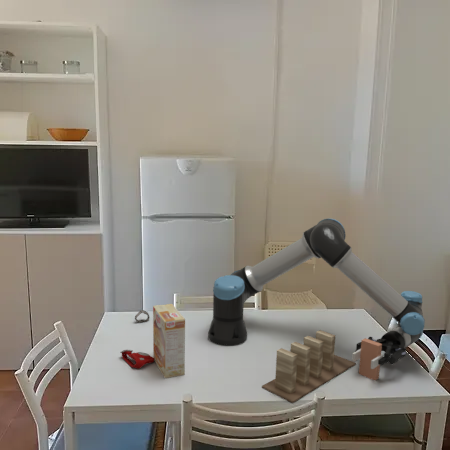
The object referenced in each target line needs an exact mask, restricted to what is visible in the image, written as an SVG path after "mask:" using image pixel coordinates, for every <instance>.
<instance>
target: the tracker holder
mask: <svg viewBox="0 0 450 450" xmlns="http://www.w3.org/2000/svg"><path fill="white" fill-rule="evenodd" d="M120 354H121V358H122V359H123V360H124V361H125V363H126V364H128V365H129V367H131V368H133V369H138V370H139V369H141V368H142V367H144V366H145V365H147V364H152V363H155V361H154V358H153V356H151V354H148V353H145V352H143V351H139V352H134V350H131V349H124V350H122V351H120ZM129 357H130V358H131V359H132V360H133V361H135V363H134V362H133V361H132V360H131V359H130V358H129Z"/></svg>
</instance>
